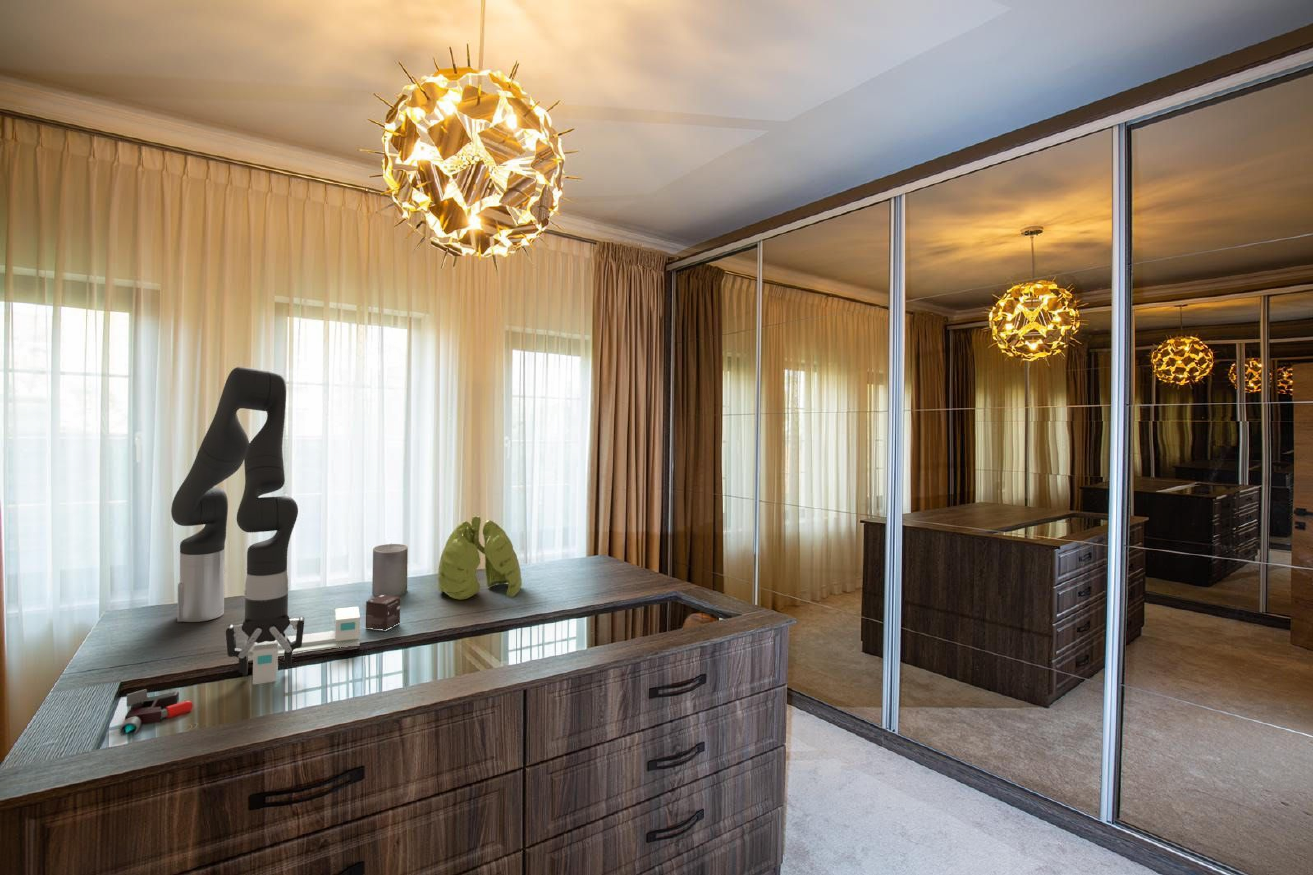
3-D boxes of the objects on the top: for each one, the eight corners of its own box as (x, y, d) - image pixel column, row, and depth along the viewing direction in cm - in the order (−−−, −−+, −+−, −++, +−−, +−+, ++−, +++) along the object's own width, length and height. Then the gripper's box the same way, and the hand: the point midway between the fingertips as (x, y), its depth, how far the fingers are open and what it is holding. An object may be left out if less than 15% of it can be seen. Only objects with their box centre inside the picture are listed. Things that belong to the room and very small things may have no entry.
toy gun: (113, 742, 103) (113, 714, 103) (133, 709, 114) (133, 683, 113) (185, 730, 108) (185, 703, 107) (198, 699, 118) (198, 674, 118)
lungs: (437, 603, 177) (440, 521, 176) (436, 587, 192) (439, 510, 190) (525, 597, 186) (528, 519, 185) (517, 582, 201) (520, 509, 199)
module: (252, 685, 124) (253, 651, 124) (255, 672, 130) (256, 640, 129) (275, 682, 126) (276, 648, 126) (277, 669, 131) (278, 637, 131)
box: (385, 632, 154) (386, 604, 154) (364, 629, 155) (365, 601, 155) (400, 624, 160) (401, 596, 160) (379, 621, 161) (380, 594, 161)
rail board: (246, 664, 133) (247, 631, 133) (251, 646, 142) (252, 616, 141) (359, 649, 143) (360, 618, 143) (357, 634, 152) (358, 605, 152)
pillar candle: (385, 586, 190) (386, 538, 189) (413, 589, 188) (414, 541, 187) (364, 596, 181) (365, 545, 179) (394, 599, 179) (394, 549, 178)
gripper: (307, 584, 134) (305, 658, 135) (227, 590, 127) (226, 669, 128) (306, 594, 127) (304, 672, 128) (221, 602, 120) (221, 685, 121)
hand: (265, 670), depth 128 cm, fingers open, 6 cm apart
